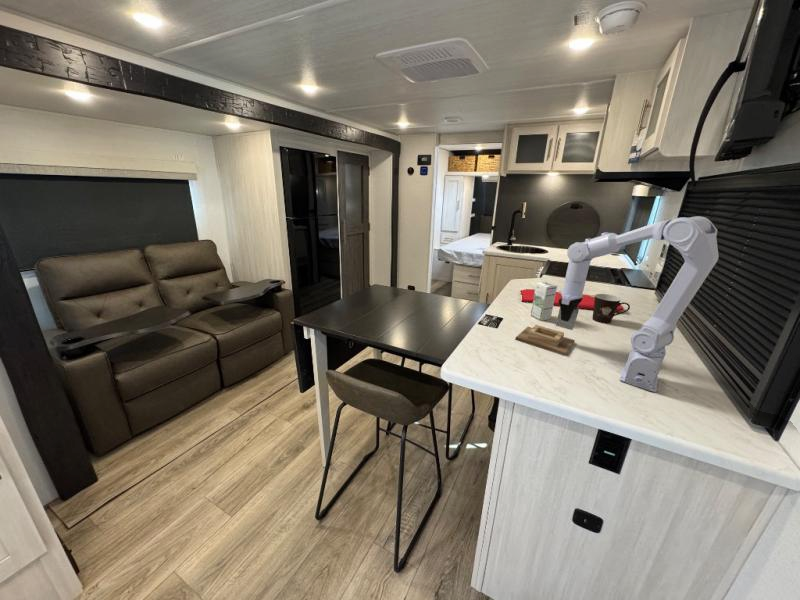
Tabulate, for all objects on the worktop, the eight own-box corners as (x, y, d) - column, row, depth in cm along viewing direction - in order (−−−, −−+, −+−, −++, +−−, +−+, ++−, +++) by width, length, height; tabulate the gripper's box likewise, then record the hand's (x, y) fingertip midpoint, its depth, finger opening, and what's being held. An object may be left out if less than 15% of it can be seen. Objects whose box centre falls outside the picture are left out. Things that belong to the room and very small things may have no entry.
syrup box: (551, 319, 125) (558, 285, 120) (540, 321, 123) (546, 286, 118) (540, 313, 130) (546, 281, 125) (529, 315, 128) (535, 282, 123)
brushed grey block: (571, 330, 101) (576, 310, 98) (555, 325, 104) (560, 306, 101) (574, 327, 103) (579, 308, 100) (558, 322, 106) (562, 304, 103)
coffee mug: (585, 319, 125) (591, 296, 122) (593, 314, 130) (599, 292, 127) (618, 329, 117) (625, 304, 113) (625, 323, 122) (632, 300, 118)
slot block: (564, 355, 97) (567, 346, 96) (515, 339, 107) (516, 330, 106) (574, 342, 106) (576, 333, 105) (527, 328, 116) (528, 320, 114)
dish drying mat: (519, 293, 157) (520, 286, 156) (611, 303, 145) (613, 295, 144) (521, 303, 143) (522, 295, 142) (622, 315, 131) (624, 307, 130)
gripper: (567, 273, 105) (559, 309, 110) (555, 282, 95) (546, 322, 100) (591, 277, 101) (581, 315, 106) (580, 287, 91) (570, 328, 95)
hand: (566, 318), depth 102 cm, fingers closed on brushed grey block, 3 cm apart
